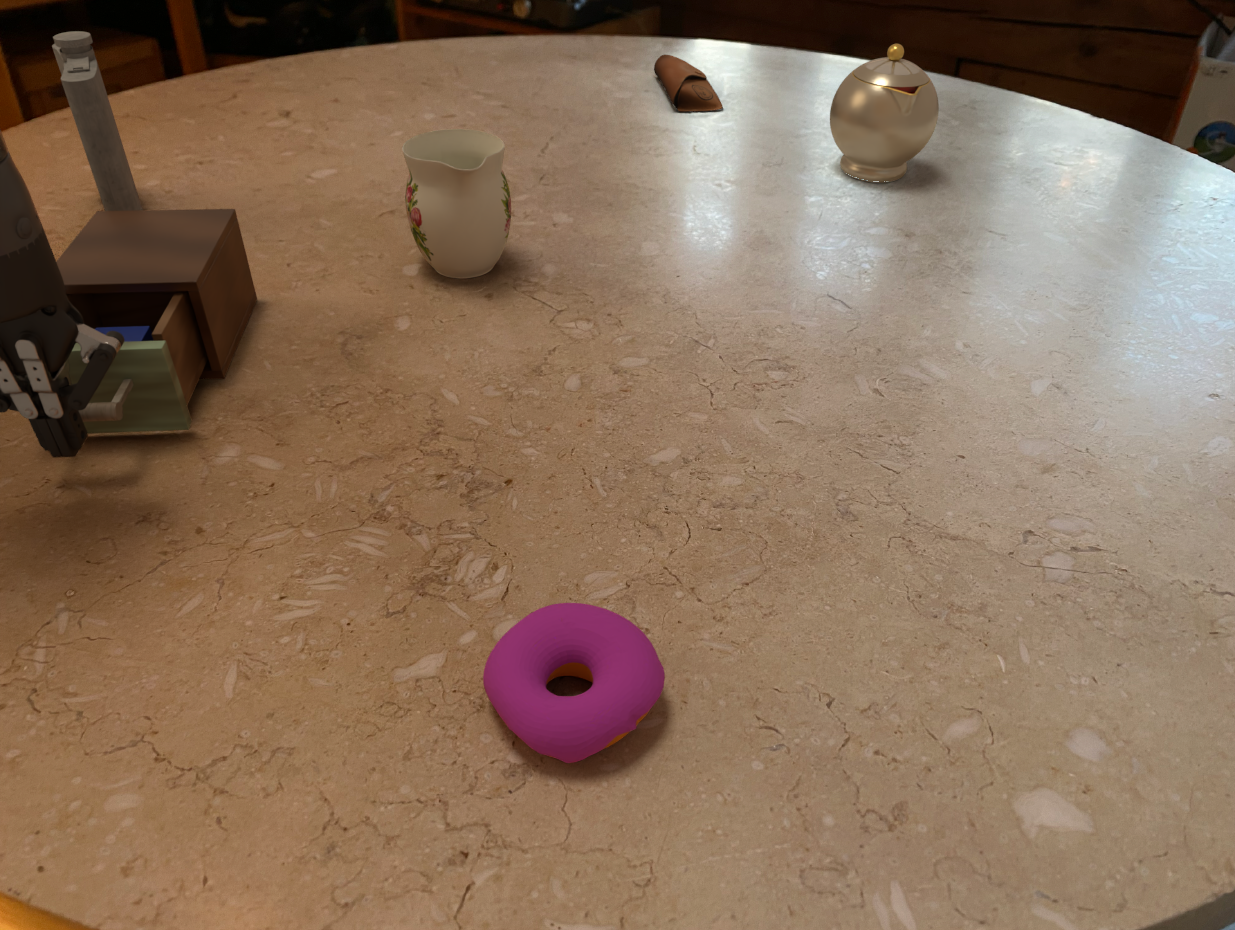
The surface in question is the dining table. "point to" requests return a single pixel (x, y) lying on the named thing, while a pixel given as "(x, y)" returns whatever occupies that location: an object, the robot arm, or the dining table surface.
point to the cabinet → (170, 268)
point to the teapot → (883, 117)
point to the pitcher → (458, 199)
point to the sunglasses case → (686, 85)
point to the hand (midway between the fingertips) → (68, 450)
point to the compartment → (142, 362)
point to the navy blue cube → (130, 332)
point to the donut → (581, 649)
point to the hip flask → (95, 121)
